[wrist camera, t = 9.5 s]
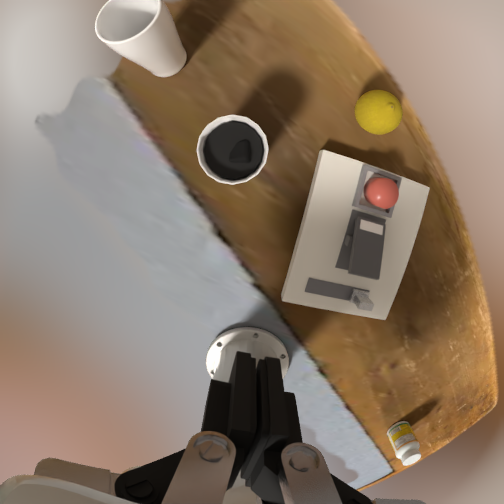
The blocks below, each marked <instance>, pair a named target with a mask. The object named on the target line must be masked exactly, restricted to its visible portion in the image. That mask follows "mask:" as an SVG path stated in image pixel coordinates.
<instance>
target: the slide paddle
mask: <svg viewBox="0 0 504 504" xmlns="http://www.w3.org/2000/svg"><path fill="white" fill-rule="evenodd" d="M369 294H370V293H369V292H367V291H362V290H358V289H353V290H352V293H351V295H350V298H349V302H350V303H355V305H356V306H357V308H358V309H361V310H367V311H372V309H373V307H374V303H373V302H372V301H371V300H370V298H369Z"/></svg>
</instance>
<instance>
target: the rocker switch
mask: <svg viewBox="0 0 504 504" xmlns="http://www.w3.org/2000/svg"><path fill="white" fill-rule="evenodd" d="M385 228H386V224H382V223H379V222H376V221H372V220H369V219H366V218H362V217H359V216H358V217H356V219H355V227H354V235H353V242H352V249H351V256H350V262H349V269H348V274H352V275H357V276H361V277H365V278H370V279H374V280H379V278H380V271H381V263H382V255H383V247H384V238H385Z"/></svg>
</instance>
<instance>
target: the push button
mask: <svg viewBox="0 0 504 504" xmlns="http://www.w3.org/2000/svg"><path fill="white" fill-rule="evenodd" d="M363 192H364V197H365V199H366V200H367V201H368V202H369V203H370V204H372V205H375V206H377V207H380V208H383V209H388V208H391V207H392V206H394V205H395V204H396V202H397V200H398V197H399V190H398V187H397V185H396V183H395V182H394V181H392V180H391V179H387V178H379V177H373V178H371V179H369V180H368V181H367V182H366V183H365V185H364V190H363Z"/></svg>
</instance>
